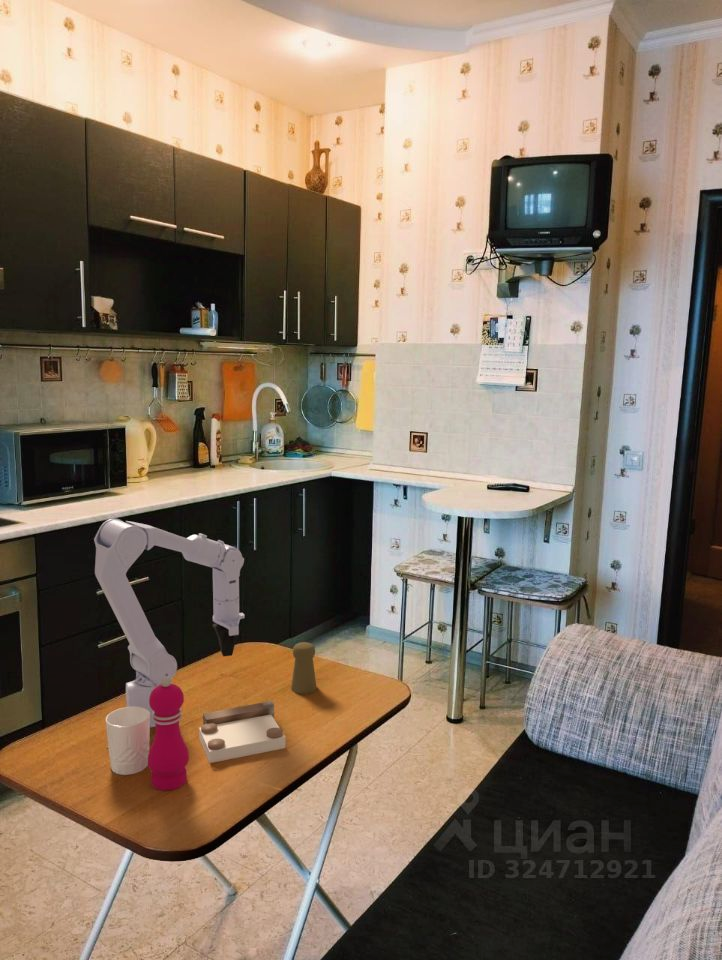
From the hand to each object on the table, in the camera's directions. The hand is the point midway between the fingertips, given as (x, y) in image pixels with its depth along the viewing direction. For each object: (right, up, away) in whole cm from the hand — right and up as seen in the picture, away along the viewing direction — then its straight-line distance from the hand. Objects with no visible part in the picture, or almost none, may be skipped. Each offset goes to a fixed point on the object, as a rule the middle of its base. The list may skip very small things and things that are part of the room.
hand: (227, 654), depth 169 cm
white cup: (-13, -14, -29) cm, 35 cm away
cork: (+17, -9, +5) cm, 20 cm away
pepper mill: (-4, -15, -34) cm, 37 cm away
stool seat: (+7, -13, -20) cm, 25 cm away
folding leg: (+5, -12, -14) cm, 19 cm away
